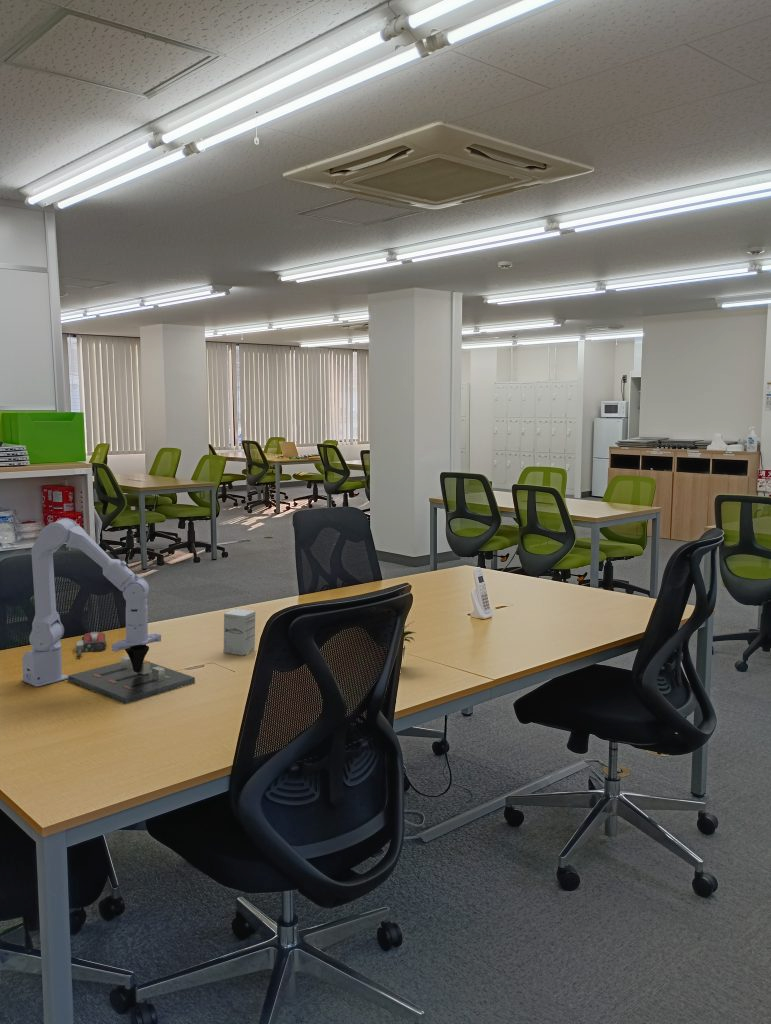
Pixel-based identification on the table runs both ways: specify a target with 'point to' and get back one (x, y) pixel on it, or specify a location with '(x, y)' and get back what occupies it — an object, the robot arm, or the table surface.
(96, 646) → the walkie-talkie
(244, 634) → the supplement box
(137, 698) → the breaker board
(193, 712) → the table surface
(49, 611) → the robot arm
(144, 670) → the block
